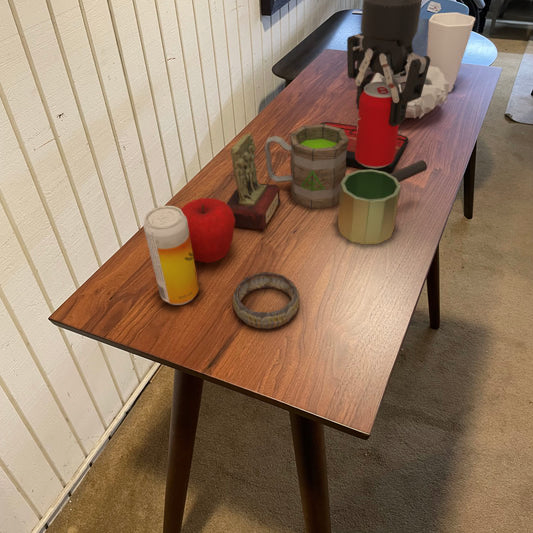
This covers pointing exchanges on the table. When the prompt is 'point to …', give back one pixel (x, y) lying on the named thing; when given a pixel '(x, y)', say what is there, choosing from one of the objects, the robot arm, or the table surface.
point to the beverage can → (375, 127)
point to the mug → (313, 164)
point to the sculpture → (250, 189)
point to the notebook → (350, 154)
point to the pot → (372, 203)
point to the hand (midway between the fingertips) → (378, 116)
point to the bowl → (425, 92)
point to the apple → (209, 228)
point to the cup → (448, 42)
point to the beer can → (171, 254)
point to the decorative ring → (265, 318)
